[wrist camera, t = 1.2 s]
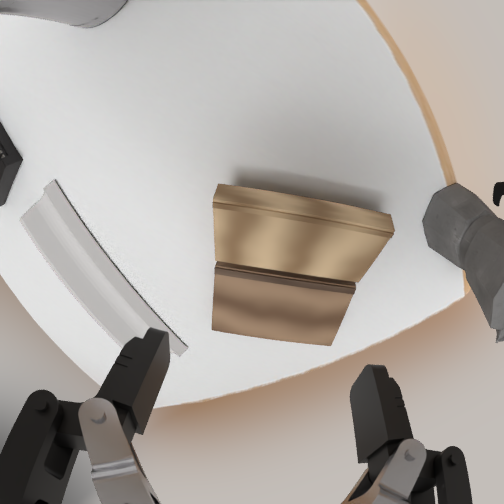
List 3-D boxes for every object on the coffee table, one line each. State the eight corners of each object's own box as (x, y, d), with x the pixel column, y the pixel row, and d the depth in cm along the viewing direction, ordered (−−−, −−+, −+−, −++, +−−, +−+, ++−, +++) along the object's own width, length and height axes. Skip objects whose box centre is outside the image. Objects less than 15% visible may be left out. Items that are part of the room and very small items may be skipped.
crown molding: (188, 343, 41) (182, 361, 38) (141, 358, 45) (134, 373, 42) (57, 178, 29) (40, 186, 26) (26, 221, 33) (12, 231, 30)
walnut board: (218, 256, 32) (215, 266, 30) (352, 276, 32) (356, 287, 30) (214, 319, 37) (211, 331, 35) (329, 335, 37) (331, 347, 35)
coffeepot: (468, 262, 29) (538, 354, 14) (414, 269, 31) (478, 382, 15) (484, 150, 22) (596, 205, 6) (424, 144, 24) (551, 202, 8)
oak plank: (219, 245, 31) (215, 261, 30) (218, 183, 24) (212, 200, 23) (357, 267, 31) (358, 283, 30) (390, 214, 24) (395, 232, 22)
